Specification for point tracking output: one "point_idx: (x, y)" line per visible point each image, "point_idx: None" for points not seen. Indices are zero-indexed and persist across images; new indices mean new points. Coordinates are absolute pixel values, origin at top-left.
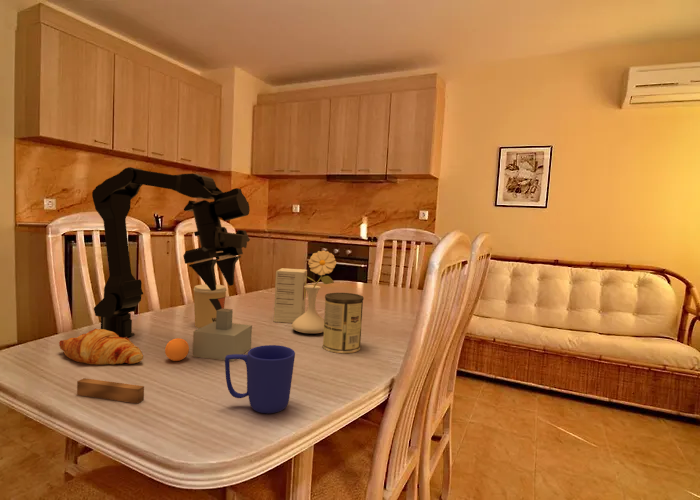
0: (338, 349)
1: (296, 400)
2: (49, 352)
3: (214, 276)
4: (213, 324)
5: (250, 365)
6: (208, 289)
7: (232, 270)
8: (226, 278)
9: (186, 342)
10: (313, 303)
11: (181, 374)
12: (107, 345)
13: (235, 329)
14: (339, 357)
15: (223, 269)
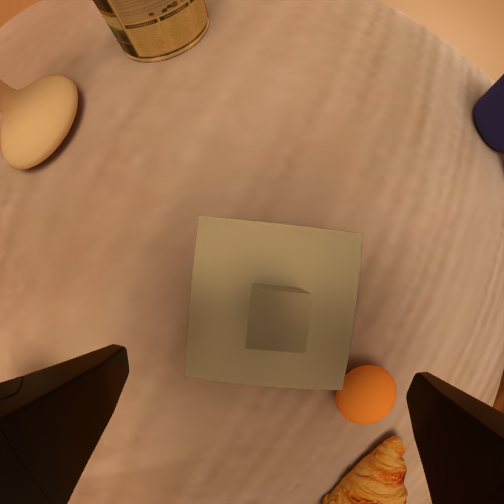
0: (206, 21)
1: (461, 90)
2: None
3: (484, 416)
4: (231, 365)
5: None
6: None
7: (44, 399)
8: (102, 418)
9: (367, 382)
10: (5, 84)
11: (434, 325)
12: (403, 498)
13: (280, 258)
14: (237, 22)
15: (60, 482)
